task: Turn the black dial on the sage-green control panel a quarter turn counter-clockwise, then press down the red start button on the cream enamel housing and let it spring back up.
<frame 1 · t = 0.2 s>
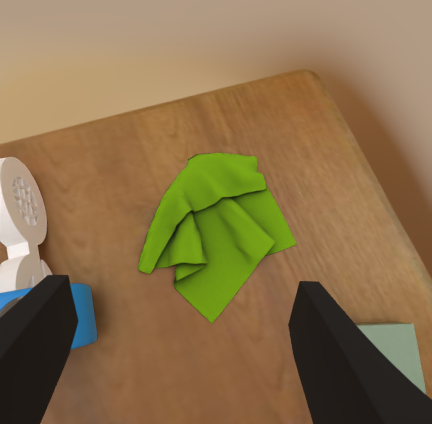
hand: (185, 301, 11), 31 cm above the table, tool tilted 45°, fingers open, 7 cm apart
alarm clock: (54, 325, 39), on the table, touching white double disc plate
cloth: (211, 232, 44), on the table
white double disc plate: (44, 258, 42), on the table, touching alarm clock
dial panel: (367, 376, 39), on the table
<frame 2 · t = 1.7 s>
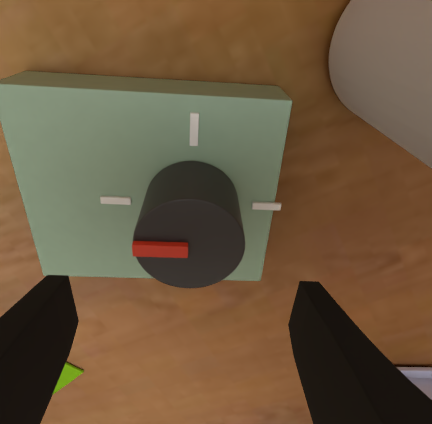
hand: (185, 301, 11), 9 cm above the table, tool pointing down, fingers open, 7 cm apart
dial: (190, 225, 14), point 5 cm above the table, hinge at 0.0°
beverage can: (390, 46, 16), on the table
dial panel: (157, 173, 18), on the table
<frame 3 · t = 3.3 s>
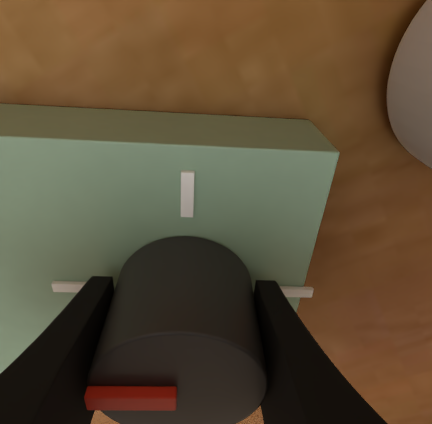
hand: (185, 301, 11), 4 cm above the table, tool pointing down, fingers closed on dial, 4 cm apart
dial: (182, 336, 9), point 5 cm above the table, hinge at -0.2°, touching gripper
dial panel: (140, 233, 14), on the table
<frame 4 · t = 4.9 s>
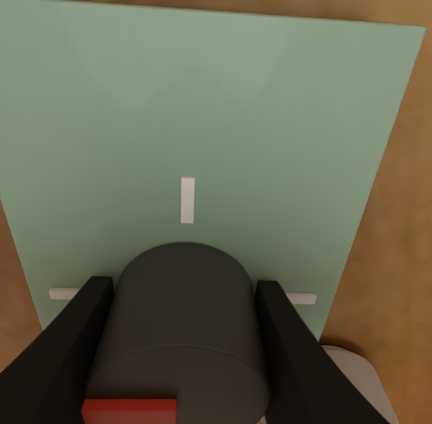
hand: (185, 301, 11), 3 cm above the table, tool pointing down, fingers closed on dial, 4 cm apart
dial: (182, 346, 9), point 5 cm above the table, hinge at 90.3°, touching gripper
beverage can: (310, 370, 19), on the table
dial panel: (190, 196, 12), on the table
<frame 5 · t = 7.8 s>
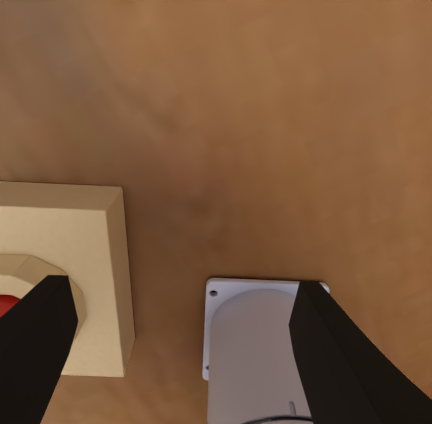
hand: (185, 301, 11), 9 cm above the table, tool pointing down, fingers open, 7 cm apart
button housing: (52, 268, 22), on the table
start button: (3, 333, 17), point 5 cm above the table, slide at 0.1 cm
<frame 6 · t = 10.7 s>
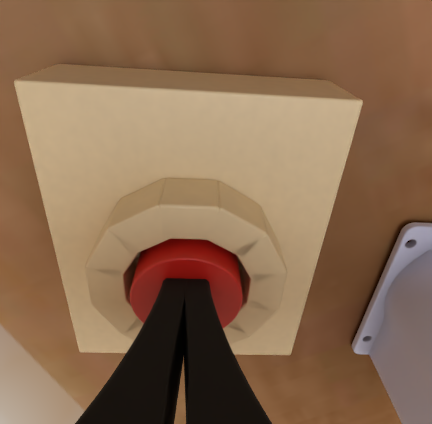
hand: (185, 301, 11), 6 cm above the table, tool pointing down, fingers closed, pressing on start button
button housing: (192, 211, 15), on the table
start button: (187, 282, 11), point 5 cm above the table, slide at -0.7 cm, touching gripper
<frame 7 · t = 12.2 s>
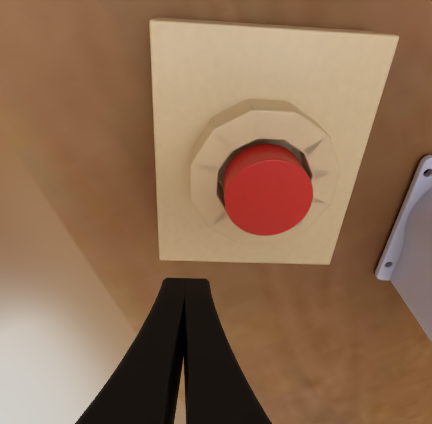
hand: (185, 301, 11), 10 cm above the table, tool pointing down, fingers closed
button housing: (250, 144, 19), on the table
start button: (265, 190, 14), point 5 cm above the table, slide at 0.1 cm
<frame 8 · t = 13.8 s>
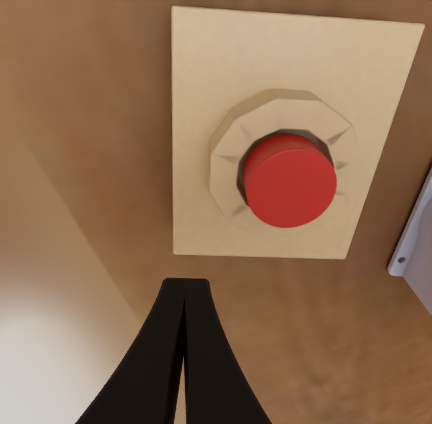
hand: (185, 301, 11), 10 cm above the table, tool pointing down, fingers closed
button housing: (266, 137, 19), on the table
start button: (287, 181, 14), point 5 cm above the table, slide at 0.1 cm
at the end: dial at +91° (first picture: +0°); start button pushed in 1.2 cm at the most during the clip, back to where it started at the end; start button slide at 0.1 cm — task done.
